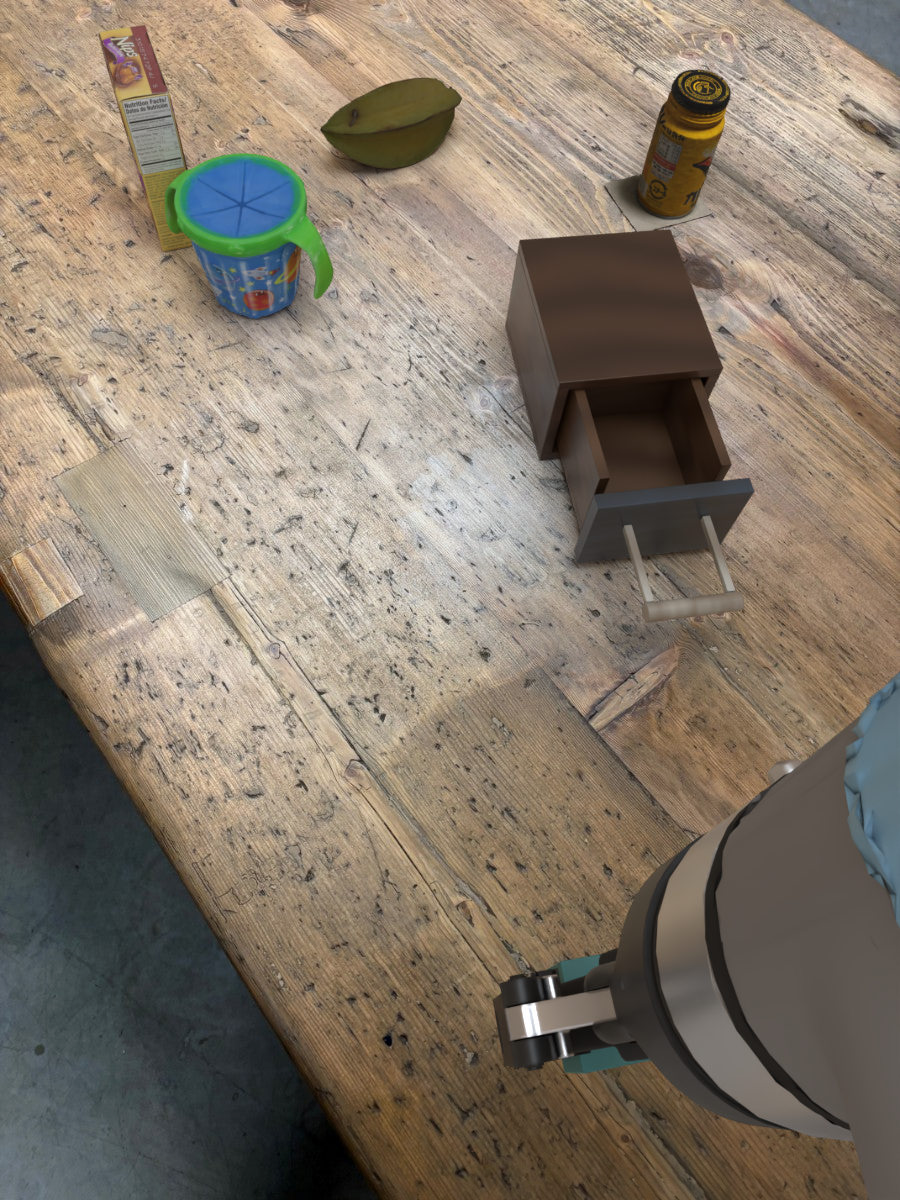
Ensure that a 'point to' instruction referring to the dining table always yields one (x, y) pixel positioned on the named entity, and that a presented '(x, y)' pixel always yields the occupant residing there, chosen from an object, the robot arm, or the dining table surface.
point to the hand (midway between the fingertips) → (602, 1016)
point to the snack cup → (248, 230)
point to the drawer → (651, 482)
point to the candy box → (146, 121)
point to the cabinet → (602, 321)
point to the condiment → (677, 155)
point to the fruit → (394, 123)
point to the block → (596, 1058)
